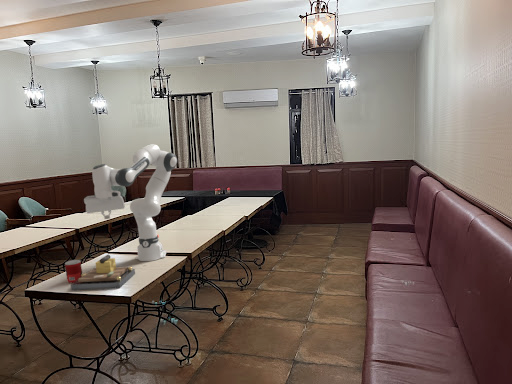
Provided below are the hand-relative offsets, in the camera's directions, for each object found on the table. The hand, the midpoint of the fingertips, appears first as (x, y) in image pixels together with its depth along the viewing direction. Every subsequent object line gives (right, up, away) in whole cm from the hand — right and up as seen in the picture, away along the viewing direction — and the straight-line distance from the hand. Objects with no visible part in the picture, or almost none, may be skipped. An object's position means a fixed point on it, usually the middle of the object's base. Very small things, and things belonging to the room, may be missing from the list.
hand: (107, 218), depth 221 cm
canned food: (-19, -35, +3) cm, 40 cm away
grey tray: (0, -34, -3) cm, 34 cm away
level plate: (-1, -31, -3) cm, 31 cm away
